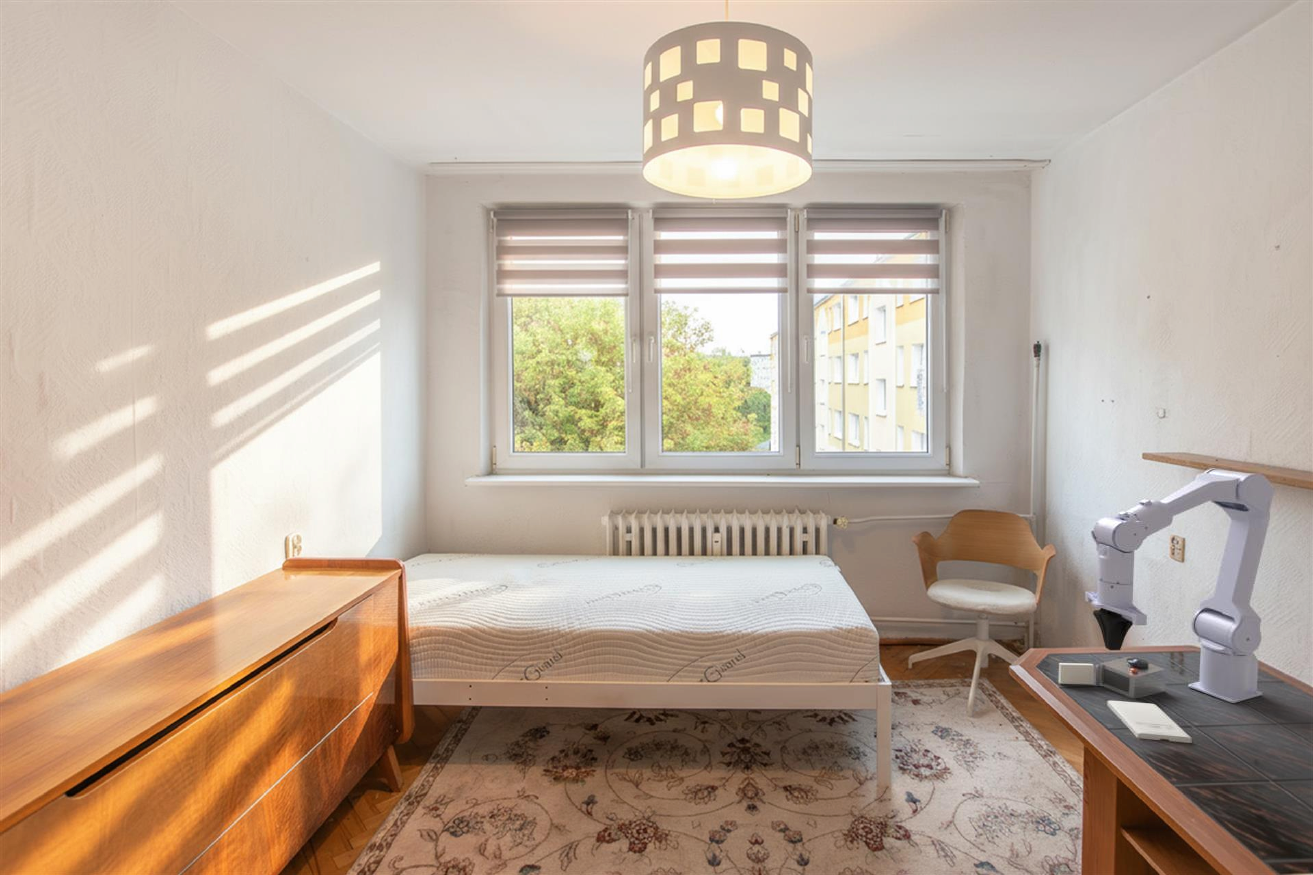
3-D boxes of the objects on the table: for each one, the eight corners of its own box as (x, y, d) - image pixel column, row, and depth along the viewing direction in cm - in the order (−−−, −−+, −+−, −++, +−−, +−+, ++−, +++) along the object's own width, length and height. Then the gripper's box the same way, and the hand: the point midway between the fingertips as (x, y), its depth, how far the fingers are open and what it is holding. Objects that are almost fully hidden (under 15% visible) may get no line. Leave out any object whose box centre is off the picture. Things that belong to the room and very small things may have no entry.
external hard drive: (1155, 712, 128) (1191, 745, 116) (1106, 708, 129) (1137, 740, 117) (1156, 703, 128) (1192, 736, 115) (1107, 699, 129) (1137, 731, 117)
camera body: (1129, 677, 141) (1130, 650, 141) (1164, 691, 135) (1165, 663, 134) (1098, 684, 138) (1099, 657, 138) (1133, 699, 132) (1134, 670, 131)
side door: (1100, 685, 137) (1101, 666, 137) (1061, 684, 138) (1062, 665, 138) (1097, 682, 139) (1097, 663, 138) (1058, 681, 139) (1059, 662, 139)
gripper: (1071, 570, 138) (1069, 635, 139) (1120, 591, 123) (1118, 664, 124) (1105, 569, 138) (1103, 634, 139) (1159, 591, 124) (1156, 663, 125)
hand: (1112, 648), depth 132 cm, fingers closed
